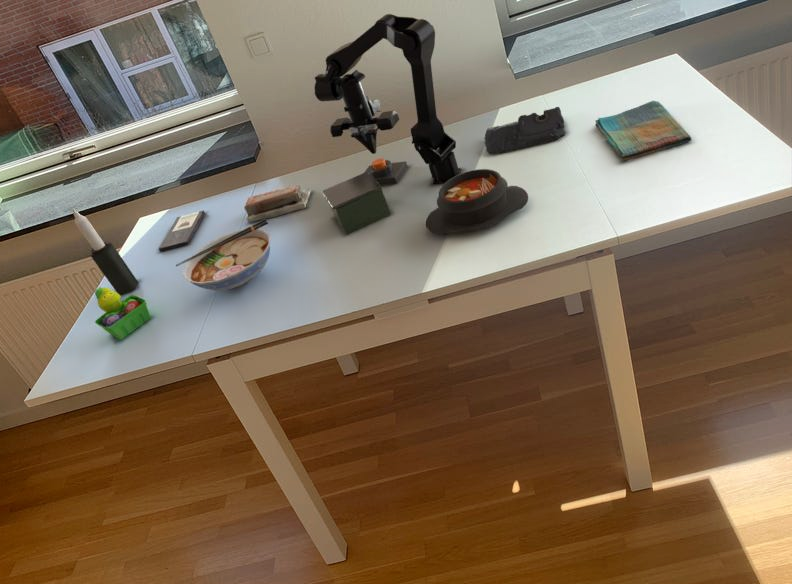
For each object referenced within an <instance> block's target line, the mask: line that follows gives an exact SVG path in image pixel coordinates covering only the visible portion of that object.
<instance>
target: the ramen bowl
mask: <svg viewBox="0 0 792 584" xmlns="http://www.w3.org/2000/svg"><path fill="white" fill-rule="evenodd" d="M268 225H269V222H268V221H267V218H265V219H261V220H259V221H258V222H255V223H253V224H252V225H251V226H248V227H246V228H244V229H241V230H236V231H234V232H233V231H232V232H231V233H228V234H225V235H222V236H220V237H218V238H216V239H214V240H213V241H211V242H209V243H207V244H206V245H204V246H202V247H201V248H200V249H199V250H198V251H197V252H195V253H194V254H193V255H192V256H190V257H188V258H187V259H184V260H182V261H181V262H178V263H177V264H176V267H178V266H180V265H183V264H184V267H183V268H184V269H183V274H182V275H183V277H184V278H185V279H186V280H187V281H188V282H189V283H191V284H192V285H194V286H196V287H198V288H201V289H206V290H209V291H210V290H211V291H216V292H220V291H221V292H222V291H226V290H232V289H235V288H238V287H240V286H243V285H245V284H247V283H248V282H250V281H251V280H253V279H254V278H255V277H256V276H257V275H259V273H261V271H263V269H264V267H265V266H266V264H267V263H268V260H269V257H270V252H271V236H270V234H269V233H268V232H267V231H265V230H264V229H260V228H263V227H264V226H268ZM185 263H186V264H185Z"/></svg>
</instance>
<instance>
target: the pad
mask: <svg viewBox="0 0 792 584" xmlns="http://www.w3.org/2000/svg"><path fill="white" fill-rule="evenodd" d="M384 160H385V163H386V166H385V167H384V168H382V169H379V170H374V168H373V165H372V164H370V165H368V166H367V168H366V169H365V170H364V172H363V173H365V172H368V173H369V174H370V175H371V176H372V177H373V178H374V180H375V181H376V182H377V183H378V184H379V185H380V186H382V185H383V186H385V185H393V184H397V183H399V181H400V180H401V178H402V176H403V175H404V174H405V172H406V171H407V170H408V168H409V165H408V163H407V161H398V162H391V160H389V159H384Z"/></svg>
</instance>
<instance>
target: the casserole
mask: <svg viewBox="0 0 792 584" xmlns="http://www.w3.org/2000/svg"><path fill="white" fill-rule="evenodd" d="M528 201H529V193H528V192H527V190H526V189H524V188H523V187H521V186H517V185H508V181H507V180H506V179H505V178H504V177H503V176H501V174H500V173H499V172H498V171H496V170H493V169H489V168H481V169H480V168H479V169H473V170H468V171H464V172H462V173H460V174H459V175H457V176H455V177H453V178H451V179H450V180H448V181H447V182H446V183H443V184H442V185H441V187H440V188H439V190H438V196H437V199H436V206H437V208H434V209H433V210H432V211H430V213H429V214H428V215H427V217H426V219H425V227H426V229H427V230H428V231H429V232H430V233H432V234H438V235H441V234H448V233H460V232H462V233H463V232H464V233H465V232H472V231H477V230H482V229H485V228H487V227H490V226H493V225H494V224H497V223H498V222H500V221H501V220H503V219H504V218H506V217H507V216H510V215H512V214H513V213H515V212H517V211H519V210H521V209H523V208H524V207H525V206H526V205H527V203H528Z"/></svg>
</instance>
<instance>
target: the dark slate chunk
mask: <svg viewBox="0 0 792 584" xmlns="http://www.w3.org/2000/svg"><path fill="white" fill-rule="evenodd" d="M565 135H566V130H565V119H564V117H563V115H562V110H561V108H560V106H556V107H554V108H550V109H544V110H543V114H538V113H536V112H532V113H530V114H528V115H527V114H523V115H520V116H518V118H517V120H516V121H513V122H510V123H506V124H502V125H496V126H492V127H488V128H487V129H486V131H485V134H484V145H485V150H486V152H487V153H488V154H489V155H493V154H504V153H508V152H513V151H514V152H515V151H518V150H523V149H527V148H531V147H535V146H538V145H539V146H540V145H543V144H549V143H551V142H555V141H557V140H559V139H560V137H564V136H565Z"/></svg>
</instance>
